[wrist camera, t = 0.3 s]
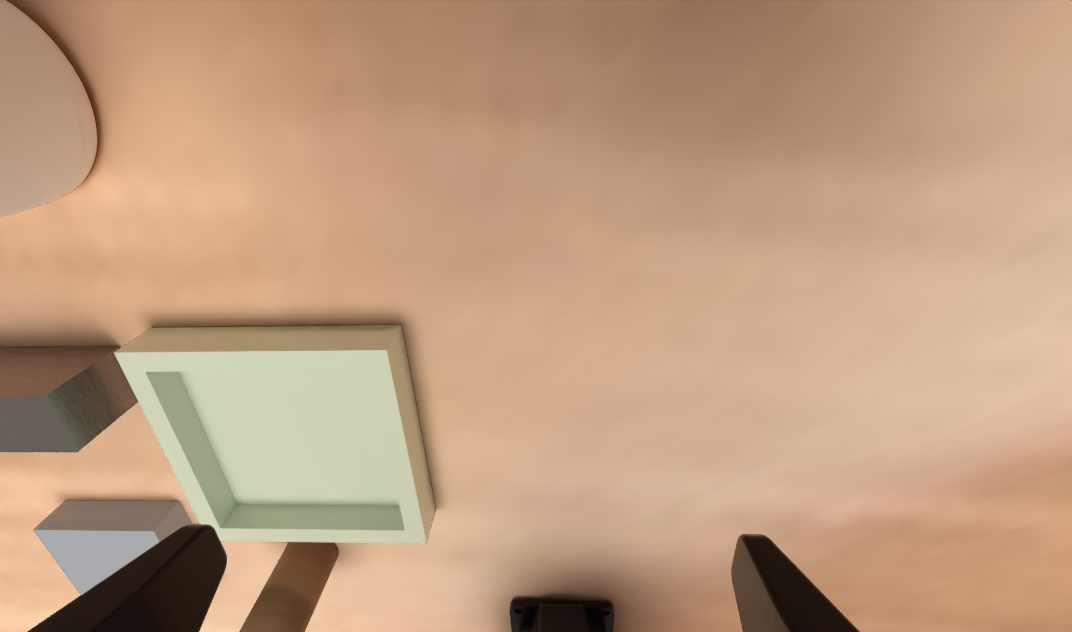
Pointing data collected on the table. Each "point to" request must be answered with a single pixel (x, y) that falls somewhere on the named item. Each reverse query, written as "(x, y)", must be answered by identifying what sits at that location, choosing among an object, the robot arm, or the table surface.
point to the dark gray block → (59, 396)
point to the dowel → (293, 588)
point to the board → (106, 535)
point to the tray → (288, 429)
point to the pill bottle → (39, 117)
